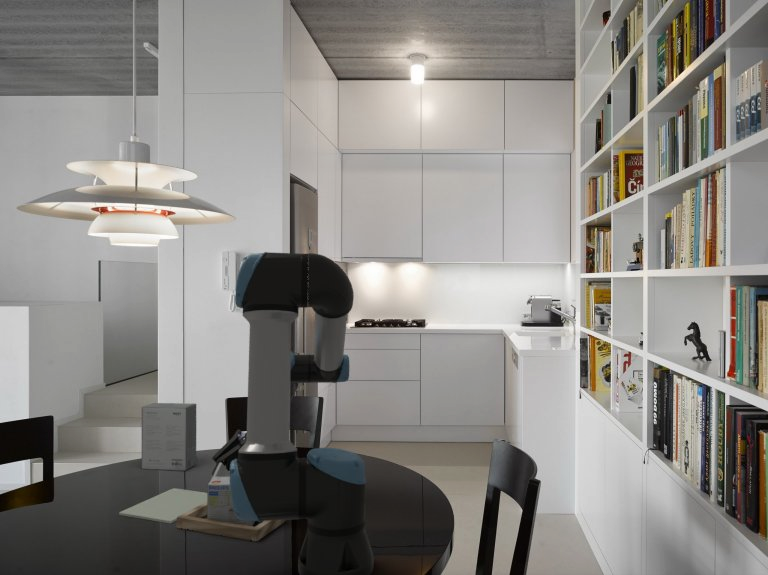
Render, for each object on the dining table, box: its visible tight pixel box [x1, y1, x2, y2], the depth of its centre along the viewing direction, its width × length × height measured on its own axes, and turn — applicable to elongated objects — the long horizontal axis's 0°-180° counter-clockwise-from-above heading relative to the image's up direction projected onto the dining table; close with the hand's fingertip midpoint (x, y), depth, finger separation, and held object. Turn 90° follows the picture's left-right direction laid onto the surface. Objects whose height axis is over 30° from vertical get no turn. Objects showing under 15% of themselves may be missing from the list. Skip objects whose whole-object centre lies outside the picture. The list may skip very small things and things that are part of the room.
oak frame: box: [176, 502, 287, 542], centre depth 139 cm, size 13×22×2 cm, turn 70°
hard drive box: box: [141, 402, 197, 472], centre depth 187 cm, size 16×8×20 cm, turn 82°
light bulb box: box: [206, 476, 256, 527], centre depth 139 cm, size 11×7×11 cm, turn 92°
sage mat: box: [118, 487, 207, 524], centre depth 151 cm, size 20×16×1 cm
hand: (234, 492), depth 141 cm, fingers open, 13 cm apart
